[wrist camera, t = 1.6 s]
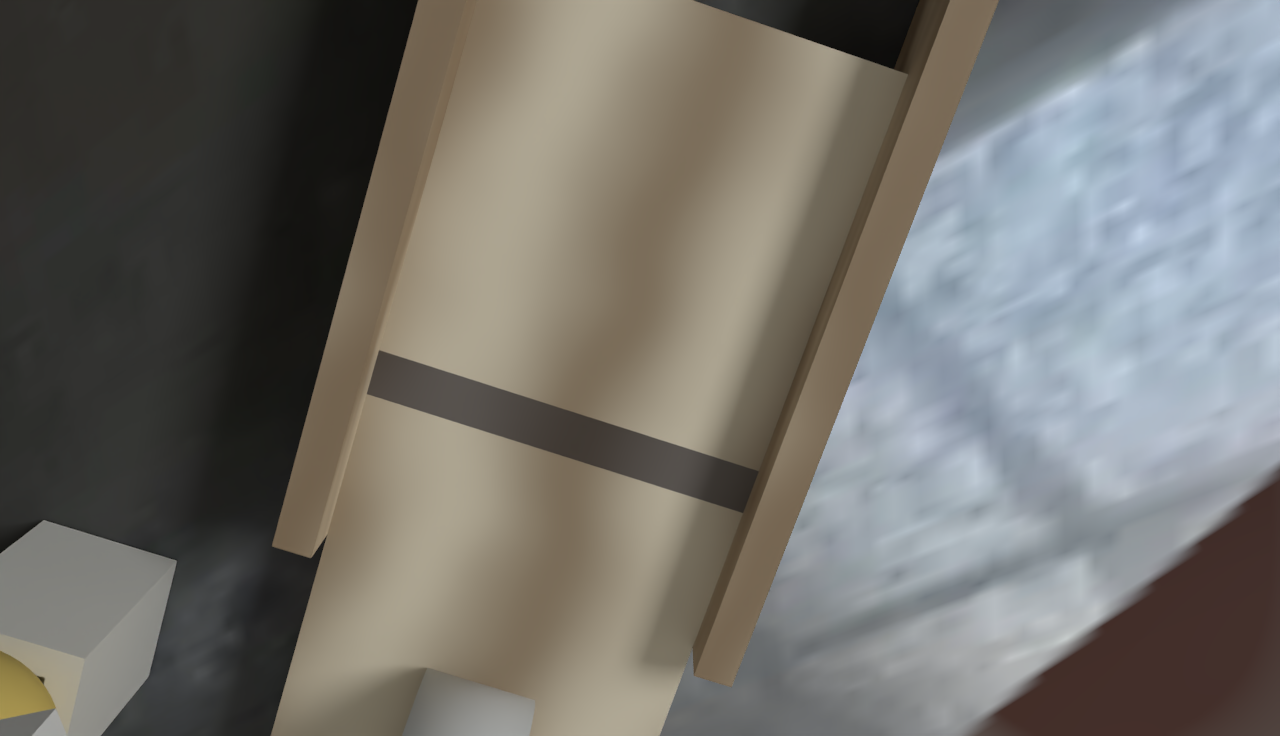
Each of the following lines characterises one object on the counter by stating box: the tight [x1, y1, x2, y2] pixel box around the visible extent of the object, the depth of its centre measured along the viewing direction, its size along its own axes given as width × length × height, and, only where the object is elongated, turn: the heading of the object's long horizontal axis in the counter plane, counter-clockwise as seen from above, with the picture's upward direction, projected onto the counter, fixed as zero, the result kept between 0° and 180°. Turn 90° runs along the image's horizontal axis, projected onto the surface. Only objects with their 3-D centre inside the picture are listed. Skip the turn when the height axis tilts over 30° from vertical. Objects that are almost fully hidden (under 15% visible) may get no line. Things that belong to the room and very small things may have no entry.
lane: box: [271, 0, 999, 736], centre depth 30 cm, size 12×33×5 cm, turn 162°
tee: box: [0, 520, 177, 736], centre depth 32 cm, size 4×4×6 cm
